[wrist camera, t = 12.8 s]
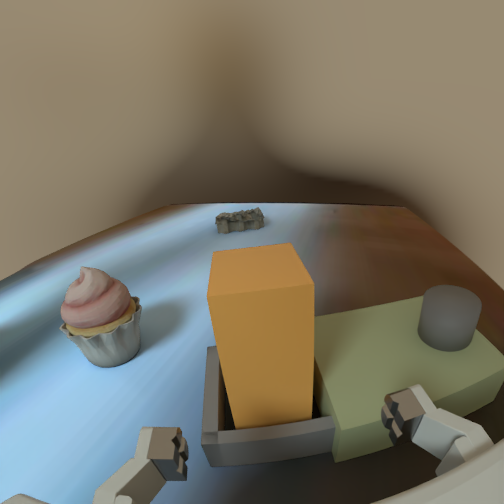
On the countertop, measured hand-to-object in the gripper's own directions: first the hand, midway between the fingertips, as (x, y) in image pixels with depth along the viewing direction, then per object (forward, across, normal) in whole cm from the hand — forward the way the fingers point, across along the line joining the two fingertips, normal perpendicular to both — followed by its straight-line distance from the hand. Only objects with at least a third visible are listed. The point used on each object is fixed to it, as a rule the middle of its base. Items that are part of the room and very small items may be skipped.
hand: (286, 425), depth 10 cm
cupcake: (+18, +16, +9) cm, 25 cm away
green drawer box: (+8, -6, +9) cm, 14 cm away
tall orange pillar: (+8, 0, +9) cm, 12 cm away
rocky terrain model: (+60, 0, +9) cm, 60 cm away
